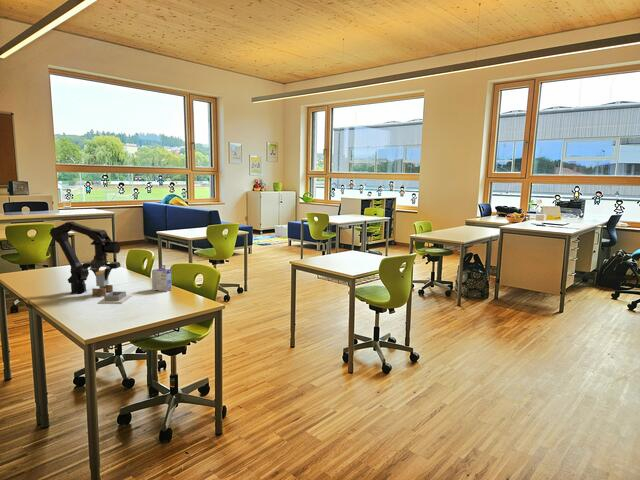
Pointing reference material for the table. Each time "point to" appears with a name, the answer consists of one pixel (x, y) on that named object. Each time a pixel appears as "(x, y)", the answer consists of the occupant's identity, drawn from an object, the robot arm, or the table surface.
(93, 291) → the wooden blocks
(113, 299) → the dock
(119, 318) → the table surface
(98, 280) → the plug
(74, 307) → the table surface
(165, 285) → the ink cartridge box
